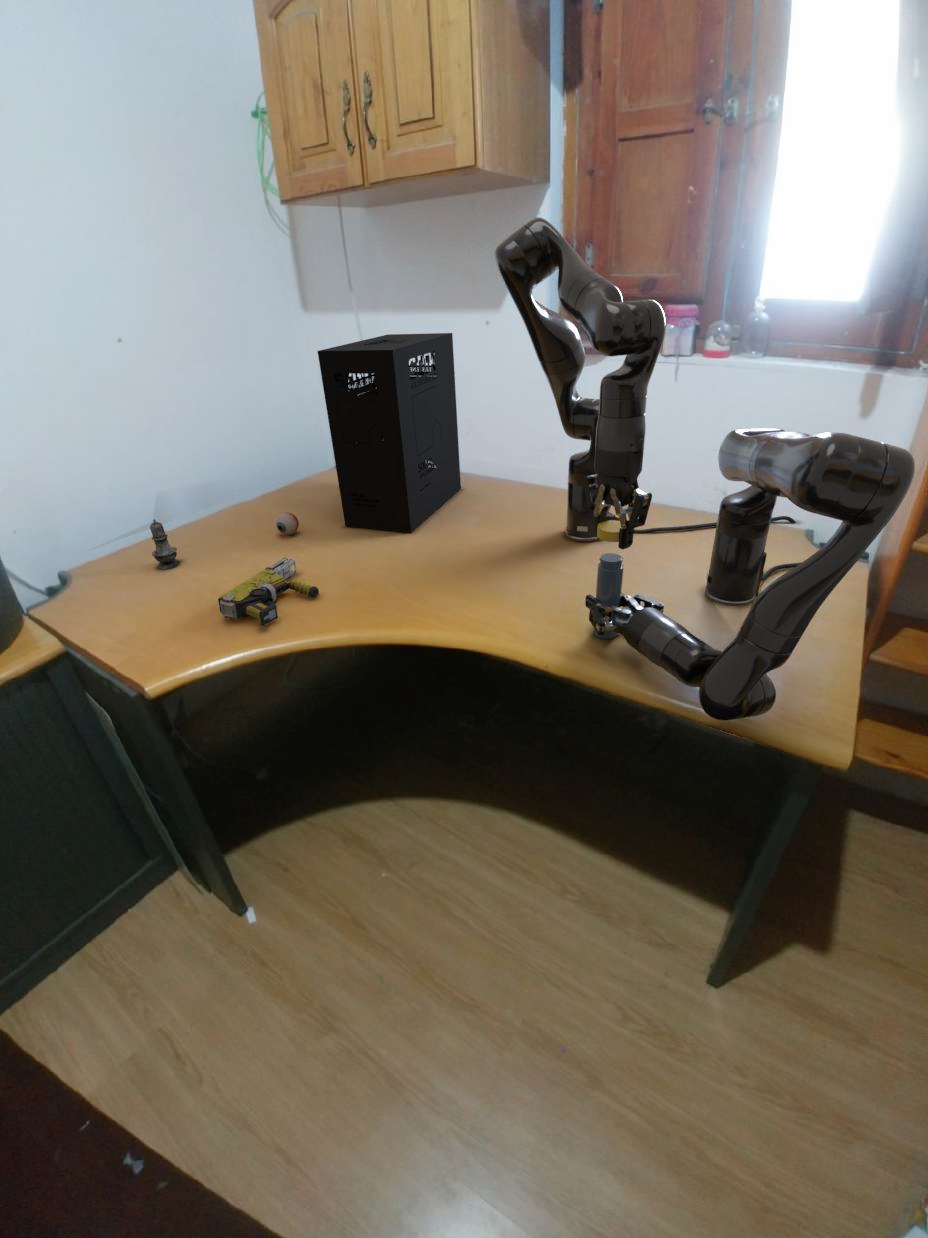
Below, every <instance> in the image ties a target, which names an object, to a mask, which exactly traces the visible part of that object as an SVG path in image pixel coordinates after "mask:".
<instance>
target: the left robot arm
mask: <svg viewBox="0 0 928 1238" xmlns="http://www.w3.org/2000/svg"><path fill="white" fill-rule="evenodd" d="M493 252H494V254H493V256H494V261H495V262H494V263H495V265H496V268H497V271H498V274H499V276H500V277H501V279H502V281H503V284H504V286H505V288H506V290H507V292H508V294H509V295H510V297H511V300H512V301H513V303H514V305H515V308H516V310H517V311H518V314H519V315H520V318H521V320H522V322H523V324H524V326H525V329H526V332H527V334H528V337H529V339H530V342H531V344H532V347H533V350H534V352H535V355H536V357H537V360H538V362H539V365H540V367H541V369H542V371H543V373H544V376H545V378H546V380H547V383H548V385H549V388H550V390H551V393H552V396H553V398H554V401H555V405H556V408H557V411H558V416H559V419H560V423H561V426H562V428H563V431H564V433H565V434H566V436H567V437H569V438H571V439H573V440H580V441H588V442H590V444H589V447H588V448H589V449H588V450H584V451H580V452H577V453H574V454H572V455H571V456H570V457H569V459H568V468H567V469H568V473H567V501H566V502H567V503H566V527H565V536H566V537H567V538H568V539H570V540H572V541H576V542H583V543H584V542H586V543H587V542H594V541H599V540H600V539H599V538H598V537H597V527H598V524H599V523H601V522H604V521H609V520H617V521H620V525H621V528H620V532H619V542H618V545H617V546H618V548H619V549H620V550H626V549H628V548H630V547H632V545H633V543H634V534H650V533H657V532H673V531H674V532H675V531H685V530H686V531H687V530H697V529H704V528H712V527H713V528H714V527H716V526H717V521H716V522H707V523H700V524H699V523H698V524H691V525H679V526H678V525H677V526H664V527H651V528H645V529H636V528H640V527H643V526H645V524H646V521H647V518H648V514H649V510H650V507H651V503H652V499H653V494H652V492H651V491H647V492H644V491H643V490H641V489H640V487H639V482H638V478H639V477H640V474H641V473H642V471H643V462H644V451H645V442H646V441H645V440H646V432H647V431H646V429H647V428H646V424H647V423H646V412H647V411H646V410H647V401H648V388H649V384H650V381H651V378H652V375H653V372H654V370H655V367H656V364H657V361H658V358H659V355H660V353H661V349H662V346H663V344H664V339H665V335H666V327H667V326H666V325H667V323H666V316H665V312H664V310H663V308H662V306H661V304H660V303H659V302H657V301H656V300H655V299H649V298H647V299H646V298H645V299H636V300H626V301H624V300H623V294H622V293H621V290H620V289H619V288H618V287H617V286H616V285H615V284H614V283H613V282H611V281H610V280H608V279H607V278H606V277H604V275H602V274H600V272H599V273H598V272H597V271H595V270H594V269H593V268H592V267H591V266H589V265H588V264H587V262H586V261H585V260H584V259H583V258H582V256H580V254H579V253H578V252H577V251H576V249H575V248H574V247H573V246H572V245H571V244H570V242H569V241H568V240H567V239H566V238H565V237H564V236H563V235H562V233H561V232H560V231H559V230H558V229H557V228H556V227H555V226H554V225H553V224H552V223H550V222H549V221H548V220H546V218H543V217H539V216H538V217H533V218H532V219H530V220H528V221H526V222H525V223H524V224H523V225H521V226H520V227H519V228H518V229H517V230H515V231H514V232H513V233H511V234H510V235H509V236H508V237H506V238H505V239H503V240H502V241H501V242H500V243H499V244H498V245H497V246H496V247H495V249H494V251H493ZM557 270H558V276H557V297H558V299H559V303H560V305H561V307H562V309H563V310H564V311H565V313H567V314H568V315H569V316H570V317H571V318H572V319H573V320H574V321H576V322H577V323H578V324H579V325H580V326H582V328H583V331H584V333H585V334H586V336H587V339H588V341H589V342H590V345H591V347H592V348H593V350H594V351H595V352H596V353H598V354H600V355H602V356H605V357H612V358H613V357H620V356H625V358H624V360H623V362H622V364H621V366H620V367H619V368H617V369H616V370H614V371H611V372H610V373H607V374H606V375H604V376H603V377H602V379H601V381H600V386H599V398H586V397H582V396H580V393H578V390H577V383H578V381H579V379H580V377H581V375H582V372H583V370H584V367H585V364H586V357H587V356H586V351H585V347H584V345H583V341H582V337H581V335H580V332H579V330H578V327H577V325H576V324H575V323H574V322H573V321H572V320H570V319H569V318H567V317H566V316H564V315H562V314H561V313H558V312H556V311H554V310H552V309H549V308H547V307H546V306H544V305H543V304H541V303H540V302H539V301H538V300H536V299H535V298H534V295H533V290H534V289H535V288H536V287H537V286H539V285H540V284H541V283H542V282H544V281H545V280H547V279H548V278H549V277H551V276H552V275H553V274H554V273H555V272H556V271H557ZM626 506H627V507H626ZM611 507H613V508H614V512H615V513H614V514H613V513H612V512H610V509H611ZM624 507H626V508H624ZM627 516H628V519H627ZM777 521H788V522H789V523H791V524H796V521H795V519H794V518H792V517H790V516H788V515H780V516H774V517H773V516H772V517H771V522H777Z"/></svg>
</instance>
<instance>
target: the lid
mask: <svg viewBox="0 0 928 1238" xmlns="http://www.w3.org/2000/svg"><path fill="white" fill-rule="evenodd" d="M620 528H621V525H620V521H617V520H609V521H604V522H601V523H599V524H598V527H597V537H598V538H599V539H598V540H601V541H603V542H608V543H619V532H620Z"/></svg>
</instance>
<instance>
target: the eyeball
mask: <svg viewBox="0 0 928 1238" xmlns="http://www.w3.org/2000/svg"><path fill="white" fill-rule="evenodd" d="M299 525H300V522H299V519H298V517H297V516H296V515H295V514H294V513H292V512H287V511H286V512H282V513H280V514H279V515H278V516H277V517H276V520H275V527H276V529H277V530H278V531H279V532H280V533H281V534H282V535H285V536H286V535H287V536H289V535H293V534H295V533H296V532H297V531H298V529H299Z"/></svg>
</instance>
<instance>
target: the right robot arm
mask: <svg viewBox="0 0 928 1238" xmlns="http://www.w3.org/2000/svg"><path fill="white" fill-rule="evenodd" d="M915 461H916V460H915V458H914V456H913V454H912V452H910V451H909V450H907V449H906V448H903V447H900V446H896V445H893V444H889V443H885V442H881V441H877V440H875V439H870V438H865V437H862V436H857V435H853V434H849V433H845V432H837V431H827V432H821V433H817V434H812V435H811V434H809V433H805V432H802V431H792V430H791V431H789V430H785V429H783V428H778V427H777V428H775V427H774V428H770V427H767V428H737V429H734V430H731V431H729V432H728V433H727V434H726V435H725V437H724V438H723V440H722V441H721V443H720V446H719V449H718V455H717V462H718V468H719V472H720V474H721V476H723V478H724V479H726V480H727V481H731V482H745V483H746V484H749V485H750V486H748V487H747V488H744V489H741V490H740V491H737V492H734V493H731V494H728V495H726V496H725V497H723V498H722V499H721V501H720V504H719V507H718V508H719V509H718V515H717V519H716V520H717V521H716V522H717V526H715V534H714V539H713V544H712V551H711V556H710V562H709V563H710V564H709V568H708V571H707V572H706V586H705V588H704V594H705V596H706V597H707V598H708V599H709V600H711V601H713V602H714V603H717V604H720V605H724V606H730V607H731V606H732V607H740V606H741V607H742V606H746V605H747V606H748V605H750V604H751V606H750V607H749V610H748V612H747V614H746V616H745V617H744V620H743V622H742V624H741V626H740V627H739V629H738V632H737V633H736V636H735V637H734V638H733V640H732V641H730V642H729V644H727V646H726V647H725V648H724V649H723V650H718V649H717V648H715V647H712V646H710V645H709V644H707V643H706V642H705V641H703V640H702V639H700V638H699V637H697V636H696V635H694V634H692V633H691V632H690V631H689V630H688V629H687V628H686V627H685V626H683V625H682V624H680V623H679V622H677V621H675V620H674V619H672V618H671V617H669V615H667V614H665V613H664V609H665V604H664V603H662V602H660V601H657V600H655V599H652V598H650V597H647V596H645V595H642V594H639V593H636V594H634V596H631V595H630V594H624V593H623V592H622V591H621V602H620V608H619V607H616V606H614V605H609V606H608V605H605V604H603V603H601V602H600V601H599V600H598V599H596V596H594V595H592V594H586V595H585V601H584V603H585V607H586V608H587V609H588V610H589V615H588V621H589V623H590V624H591V626H592V627H593V630H594V629H595V631H596V632H597V634H598V635H604V634H605V631H609V630H613V631H614V632H616V633H618V635H619V634H620V635H621V636H622V637H623V639H624V640H625V642H626V643H627V644H628V646H630V647H631V648H632V649H633V650H635V651H637V653H639V654H640V655H642V657H644V658H646V659H647V660H648V661H649V662H651V663H652V664H654V665H655V666H656V667H658V668H660V669H662V670H664V671H665V672H667V673H668V674H669V675H671V676H672V677H673V678H674V679H676V680H677V681H678V682H680V683H682V684H683V685H685V686H688V687H690V688H698V701H699V704H700V707H701V709H702V711H703V712H704V713H705V714H706V716H709V717H710V718H712V719H714V720H717V721H725V722H727V721H734V720H740V719H746V718H747V719H748V718H753V717H754V718H755V717H759V716H762V715H764V714H766V713H768V712H769V711H770V710H771V709H772V708H773V707H774V705H775V703H776V701H777V691H776V687H775V685H774V683H773V681H772V679H771V678H770V677H769V676H768V673H770V672H772V671H775V670H777V669H779V668H781V667H783V666H784V665H785V664H786V663H787V661H788V660H789V658H791V655H792V654H793V652H794V651H795V649H796V647H797V645H798V644H799V642H800V640H801V638H802V637H803V635H804V634H805V632H806V630H807V628H808V626H809V624H810V623H811V621H812V620H813V618H814V616H815V615H816V613H817V612H818V610H819V609H820V607H822V605H823V604H824V602H826V599H827V598H828V597H829V596H830V594H831V593H832V592H833V591H834V590H835V588H836V587H837V586H838V585H839V583H840V582H841V581H842V580H843V579H844V578H845V576H846V575H847V574H848V573H849V572H850V570H851V569H852V568H853V567H854V565H855V564H857V562H858V561H859V560H860V558H861V557H862V556H863V554H864V553H865V552H866V551H867V549H868V548H869V547H870V546H871V545H872V543H874V541H875V540H876V538H877V537H878V536H879V534H880V533H881V532H882V531H883V530H884V528H885V527H886V526H887V524H889V522H890V520H891V519H892V518H893V517H894V516H895V514H896V512H897V511H898V509H899V508H900V507H901V505H902V504H903V502H904V501H905V499H906V497H907V495H908V493H909V491H910V489H911V486H912V484H913V481H914V478H915V474H916V462H915ZM778 497H779V498H786V499H787V500H789V501H790V502H791V503H792V504H794V505H795V506H796V507H798V508H799V509H801V510H803V511H806V512H808V513H812V514H815V515H819V516H823V517H826V518H831V519H834V520H838V521H841V523H840V525H839V526H838V528H837V529H836V531H835V532H834V533H833V534H832V536H831V537H830V538H829V539H828V541H827V542H826V543H824V545H823V546H821V547H820V548H819V549H818V550H817V551H816V552H814V553H813V554H812V555H810V556H809V557H807V558H806V559H805V560H803V561H802V562H793V563H783V564H778V565H775V566H773V567H770V568H769V569H768V570H767V571H766V572H765V573H764V570H765V565H766V561H767V552H766V551H765V549H766V545H767V540H768V537H769V536H768V535H769V530H770V526H771V522H772V521H771V518H773V512H774V509H775V507H776V503H777V499H778ZM784 569H785V570H786V569H790V570H787V572H785V573H783V574H782V575H780V576H779V577H778V578H776V579H774V580H772V582H771V583H769V584H768V585H767V586H766V587H765V588H763V590H762V591H761V592H760V587H761V583H762V582H763V581H766V580H767V579H768V578H769V577H770V575H772V574H773V573H775V572H777V571H779V570H784ZM759 592H760V593H759ZM641 602H642V603H643V605H642V603H641ZM603 610H604V611H605V614H603ZM613 612H614V613H613Z"/></svg>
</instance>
